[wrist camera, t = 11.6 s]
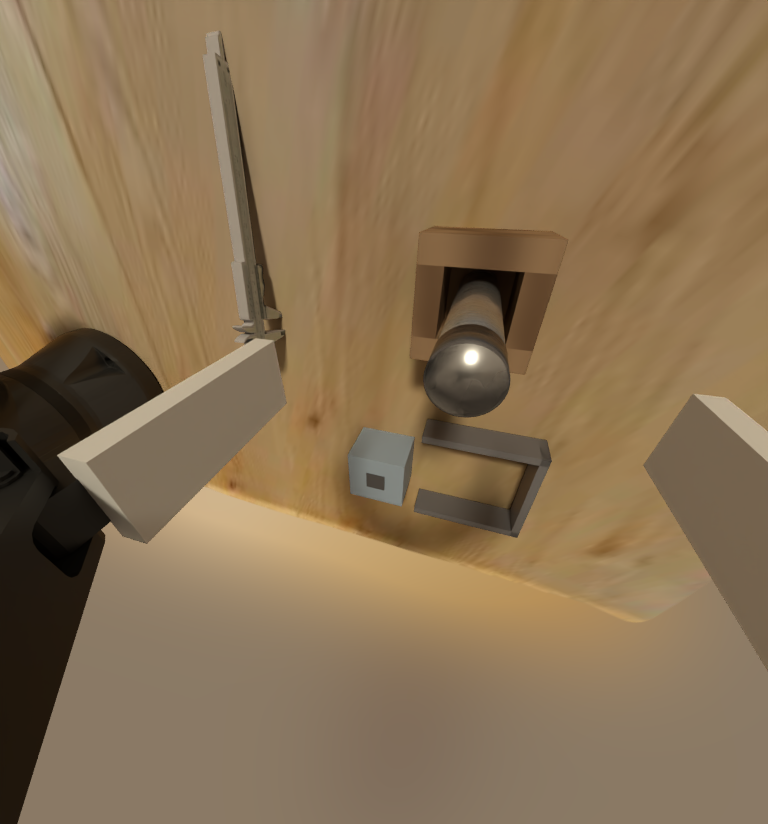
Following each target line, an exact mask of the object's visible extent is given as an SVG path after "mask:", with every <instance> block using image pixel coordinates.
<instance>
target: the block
mask: <svg viewBox="0 0 768 824" xmlns="http://www.w3.org/2000/svg"><path fill="white" fill-rule="evenodd" d="M414 438H415V437H411V436H406V435H401V434H396V433H391V432H386V431H381V430H376V429H370V428H365V427H364V428H363V429H362V431H361V433H360V435H359V436H358V438H357V440H356V441H355V443H354V445H353V447H352V448H351V450H350V452H349V454H348V464H349V478H350V491H351V494H354V495H358V496H362V497H366V498H370V499H374V500H378V501H382V502H386V503H390V504H394V505H398V506H402V503H403V500H404V497H405V494H406V490H407V487H408V484H409V480H410V477H411V471H412V460H413V449H414Z"/></svg>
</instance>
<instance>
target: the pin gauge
mask: <svg viewBox="0 0 768 824" xmlns="http://www.w3.org/2000/svg"><path fill="white" fill-rule="evenodd" d="M423 382H424V388H425V391H426V394H427V396H428V397H429V399H430V400H431V402H432V403H433V404H434V405H435V406H436V407H438V408H439V409H440V410H442V411H444V412H446V413H448V414H451V415H453V416H458V417H476V416H480V415H483V414H486V413H488V412H490V411H492V410H493V409H495V408H496V407H497V406H499V405H500V404H501V402H502V401H503V400H504V399H505V397H506V395H507V393H508V390H509V386H510V372H509V363H508V353H507V349H506V346H505V336H504V326H503V316H502V306H501V296H500V286H499V282H498V279H497V278H496V276H495V275H494V274H493V273H491V272H489V271H487V270H476V271H473V272H471V273H469V274H468V275H466V276H465V277H464V279H463V280H462V281H461V283H460V286H459V288H458V291H457V293H456V296H455V298H454V301H453V303H452V306H451V308H450V311H449V314H448V316H447V319H446V321H445V324H444V326H443V329H442V331H441V334H440V336H439V339H438V341H437V342H436V344H435V346H434V348H433V351H432V353H431V356H430V358H429V360H428V363H427V365H426V368H425V371H424V376H423Z"/></svg>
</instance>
